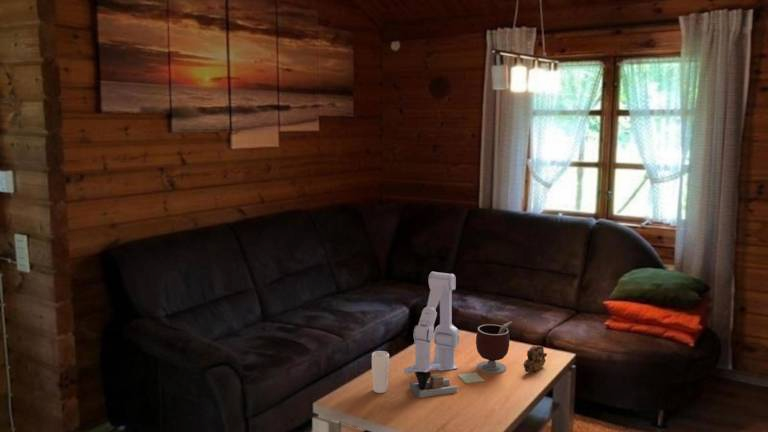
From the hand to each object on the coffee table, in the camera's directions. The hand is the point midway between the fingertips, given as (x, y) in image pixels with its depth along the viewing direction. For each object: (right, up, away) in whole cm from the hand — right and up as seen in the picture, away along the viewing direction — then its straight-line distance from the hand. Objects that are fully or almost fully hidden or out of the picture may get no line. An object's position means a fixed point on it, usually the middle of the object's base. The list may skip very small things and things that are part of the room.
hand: (421, 389), depth 243 cm
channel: (+5, -1, +2) cm, 5 cm away
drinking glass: (-16, -1, +1) cm, 16 cm away
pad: (+21, +1, +13) cm, 25 cm away
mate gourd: (+32, +2, +25) cm, 40 cm away
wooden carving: (+49, +2, +23) cm, 55 cm away
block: (+6, -1, +2) cm, 6 cm away
